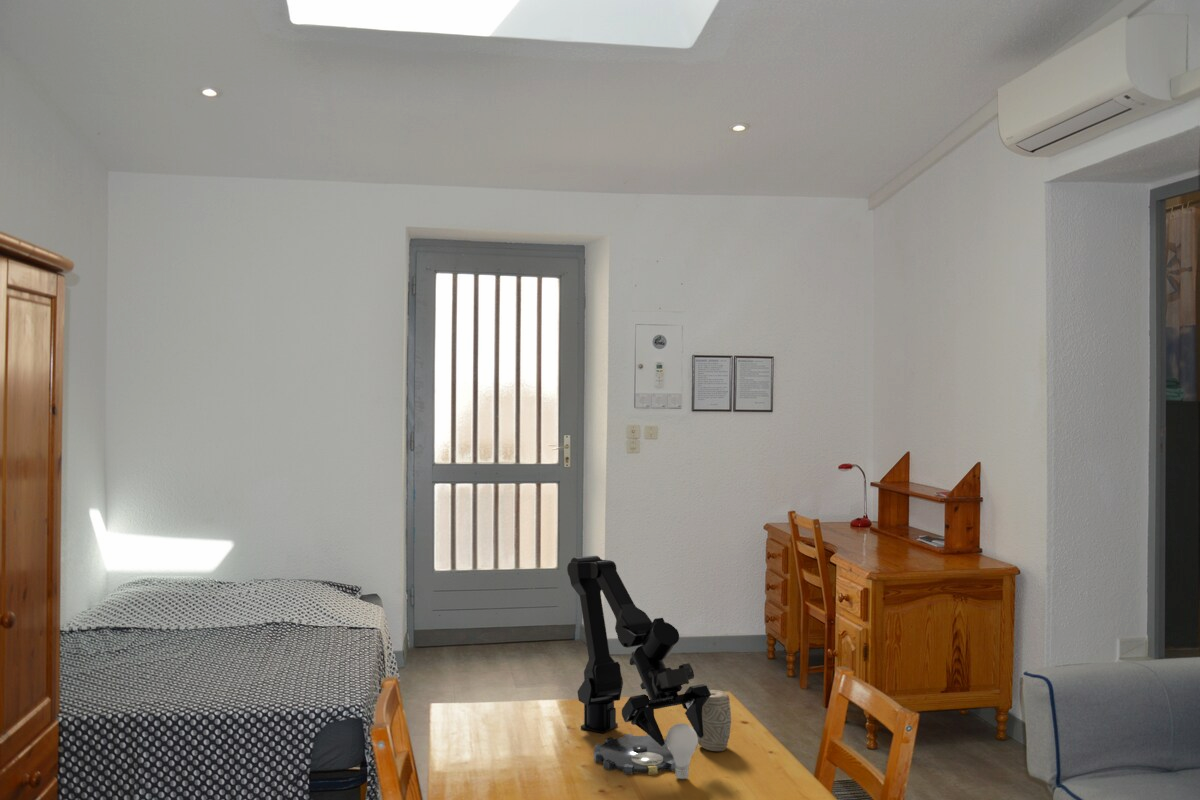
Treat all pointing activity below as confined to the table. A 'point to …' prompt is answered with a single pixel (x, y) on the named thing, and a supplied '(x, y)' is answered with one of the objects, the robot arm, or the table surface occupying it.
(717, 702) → the carving
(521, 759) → the table surface
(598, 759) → the sprocket plate
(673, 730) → the lightbulb
